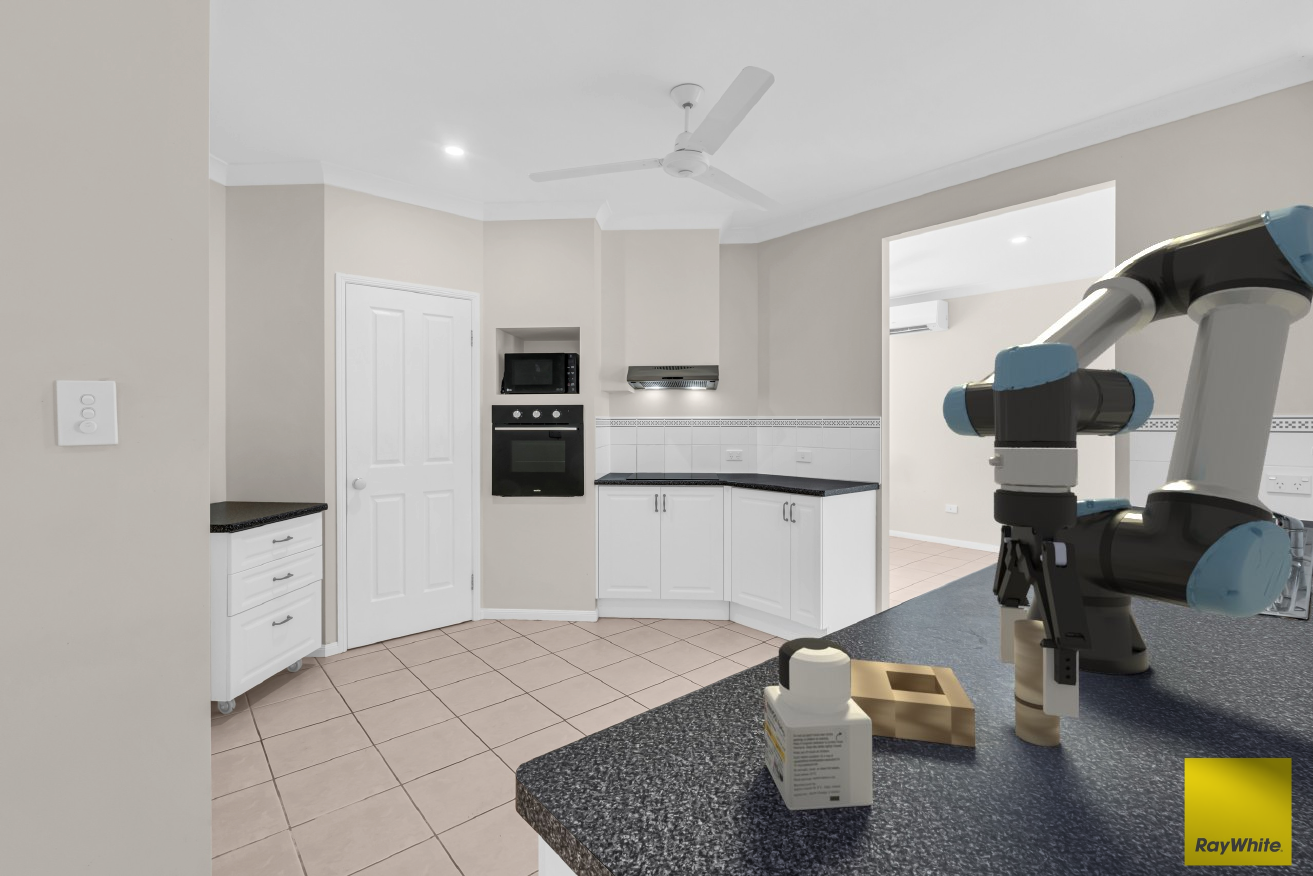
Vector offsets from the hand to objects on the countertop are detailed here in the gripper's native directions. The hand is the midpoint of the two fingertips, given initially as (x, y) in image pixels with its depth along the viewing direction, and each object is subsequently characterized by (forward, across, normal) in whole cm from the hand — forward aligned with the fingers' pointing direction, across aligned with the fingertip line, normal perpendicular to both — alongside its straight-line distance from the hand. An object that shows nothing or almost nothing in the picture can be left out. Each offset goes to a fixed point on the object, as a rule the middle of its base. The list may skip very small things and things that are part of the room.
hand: (1034, 686), depth 62 cm
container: (+6, +14, -23) cm, 28 cm away
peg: (+6, 0, 0) cm, 6 cm away
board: (+6, -2, -17) cm, 18 cm away
